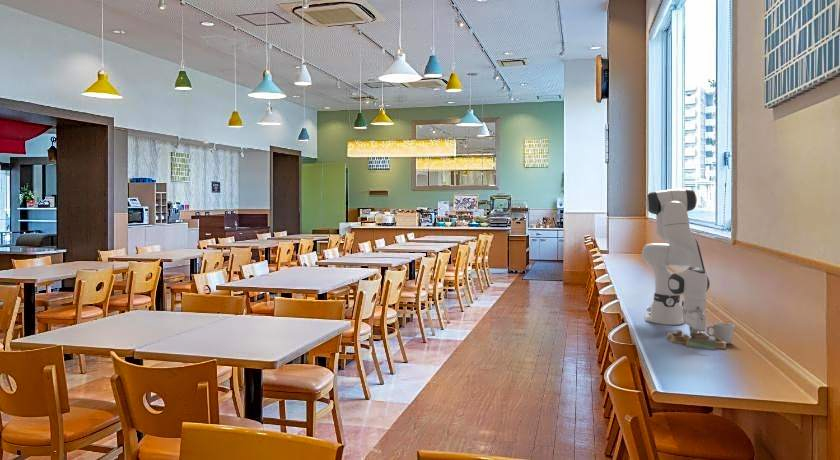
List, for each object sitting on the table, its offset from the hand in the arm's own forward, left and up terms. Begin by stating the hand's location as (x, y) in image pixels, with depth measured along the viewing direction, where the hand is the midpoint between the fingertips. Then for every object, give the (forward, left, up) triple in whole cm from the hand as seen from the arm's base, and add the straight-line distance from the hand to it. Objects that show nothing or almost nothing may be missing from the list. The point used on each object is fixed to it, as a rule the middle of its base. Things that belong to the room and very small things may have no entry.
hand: (693, 337), depth 276 cm
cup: (-1, +11, -2) cm, 12 cm away
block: (+9, 0, -2) cm, 9 cm away
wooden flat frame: (+4, 0, -2) cm, 4 cm away
